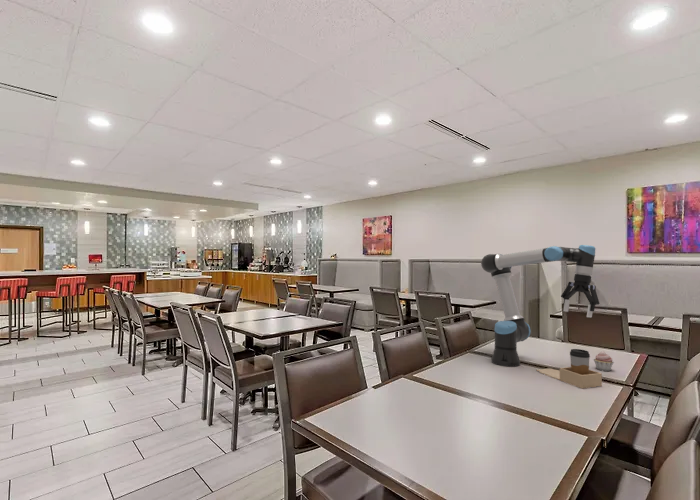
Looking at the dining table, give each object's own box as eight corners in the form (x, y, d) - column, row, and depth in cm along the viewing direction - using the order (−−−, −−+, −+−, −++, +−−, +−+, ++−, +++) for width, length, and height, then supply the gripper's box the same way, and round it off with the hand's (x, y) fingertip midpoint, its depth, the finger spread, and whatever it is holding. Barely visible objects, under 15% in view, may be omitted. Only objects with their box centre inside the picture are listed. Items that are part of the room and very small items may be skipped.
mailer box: (534, 371, 193) (534, 359, 193) (552, 369, 197) (552, 358, 197) (582, 388, 167) (582, 375, 167) (601, 386, 171) (601, 373, 171)
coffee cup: (584, 379, 179) (584, 349, 179) (593, 385, 170) (593, 353, 171) (566, 378, 179) (566, 348, 180) (575, 384, 171) (575, 352, 172)
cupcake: (618, 372, 193) (618, 353, 193) (600, 372, 193) (600, 353, 194) (606, 367, 202) (606, 349, 203) (589, 366, 203) (589, 349, 203)
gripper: (611, 278, 179) (605, 320, 179) (567, 272, 203) (561, 309, 203) (601, 276, 177) (594, 319, 177) (557, 271, 200) (551, 308, 201)
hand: (577, 314), depth 190 cm, fingers open, 13 cm apart
